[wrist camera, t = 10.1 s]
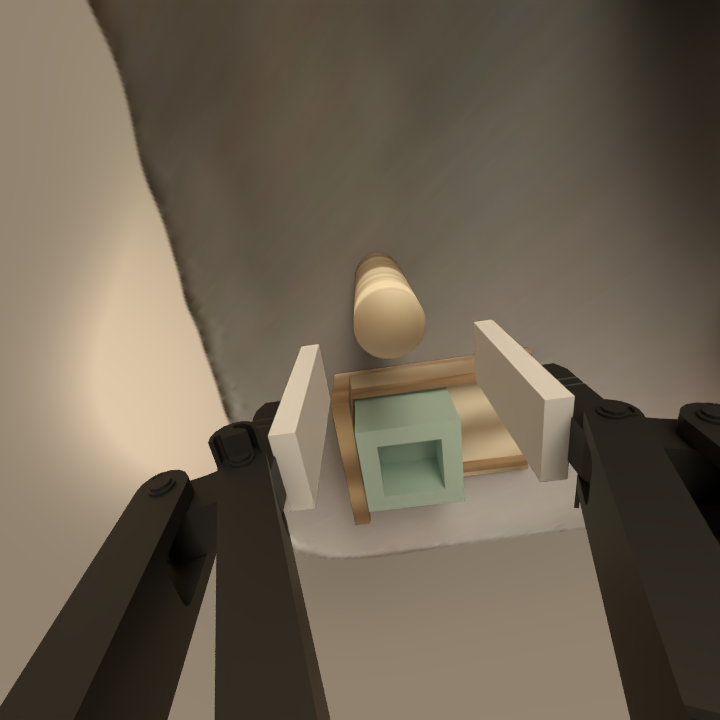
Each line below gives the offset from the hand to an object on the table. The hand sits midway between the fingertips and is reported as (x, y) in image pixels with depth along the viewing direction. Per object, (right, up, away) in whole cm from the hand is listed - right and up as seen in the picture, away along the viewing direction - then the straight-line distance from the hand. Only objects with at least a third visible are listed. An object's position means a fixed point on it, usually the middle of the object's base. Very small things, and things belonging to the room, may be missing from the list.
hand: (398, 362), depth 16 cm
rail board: (+6, -6, +24) cm, 25 cm away
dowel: (0, +8, +17) cm, 19 cm away
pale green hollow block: (+3, -7, +23) cm, 24 cm away
